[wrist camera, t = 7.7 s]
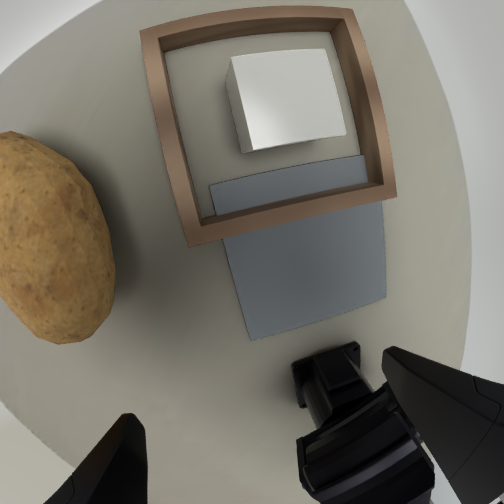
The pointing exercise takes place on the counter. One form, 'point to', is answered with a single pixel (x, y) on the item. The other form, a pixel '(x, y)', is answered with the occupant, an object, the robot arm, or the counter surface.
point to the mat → (304, 249)
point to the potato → (52, 243)
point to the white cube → (283, 98)
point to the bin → (361, 98)
